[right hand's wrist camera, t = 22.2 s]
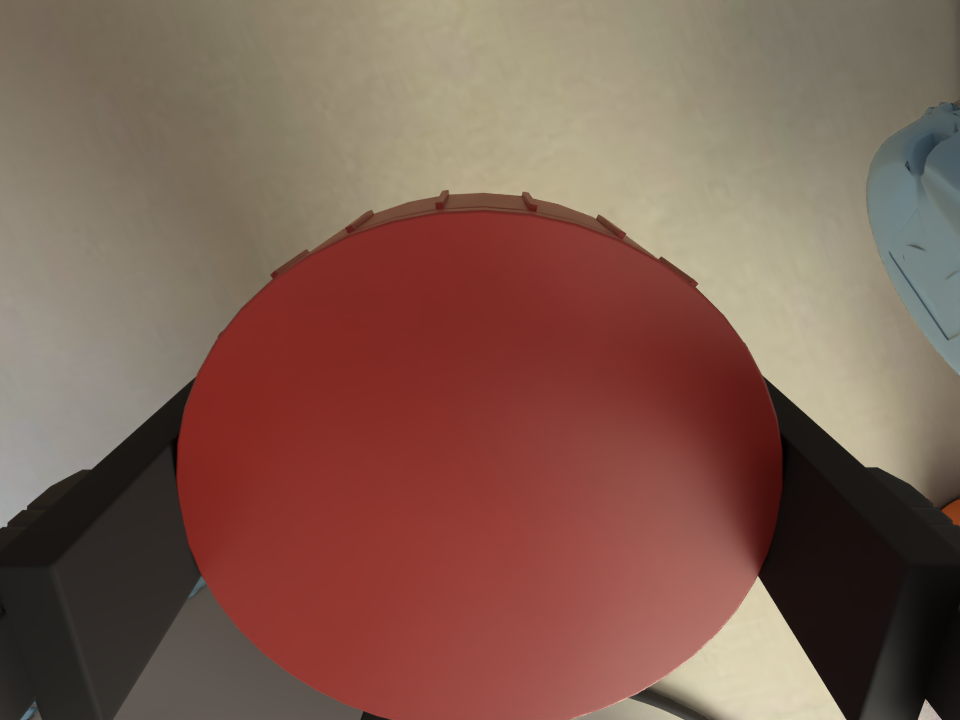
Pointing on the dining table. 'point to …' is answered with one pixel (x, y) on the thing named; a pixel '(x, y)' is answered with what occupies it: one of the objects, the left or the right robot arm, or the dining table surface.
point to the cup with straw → (953, 511)
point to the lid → (479, 464)
